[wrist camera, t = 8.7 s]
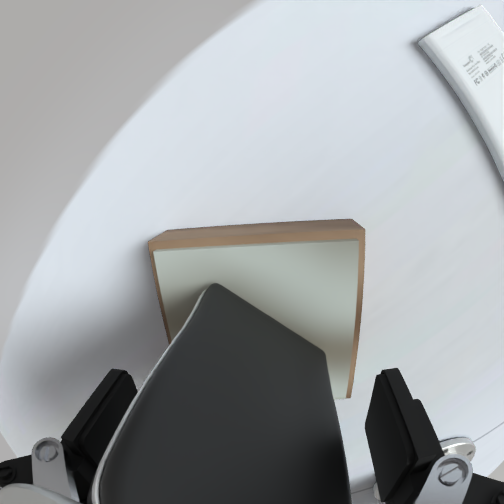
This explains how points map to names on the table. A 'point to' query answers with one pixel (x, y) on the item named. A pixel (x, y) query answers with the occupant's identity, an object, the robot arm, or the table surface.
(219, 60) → the table surface
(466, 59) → the external hard drive
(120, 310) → the table surface
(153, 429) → the battery charger
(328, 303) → the plinth
